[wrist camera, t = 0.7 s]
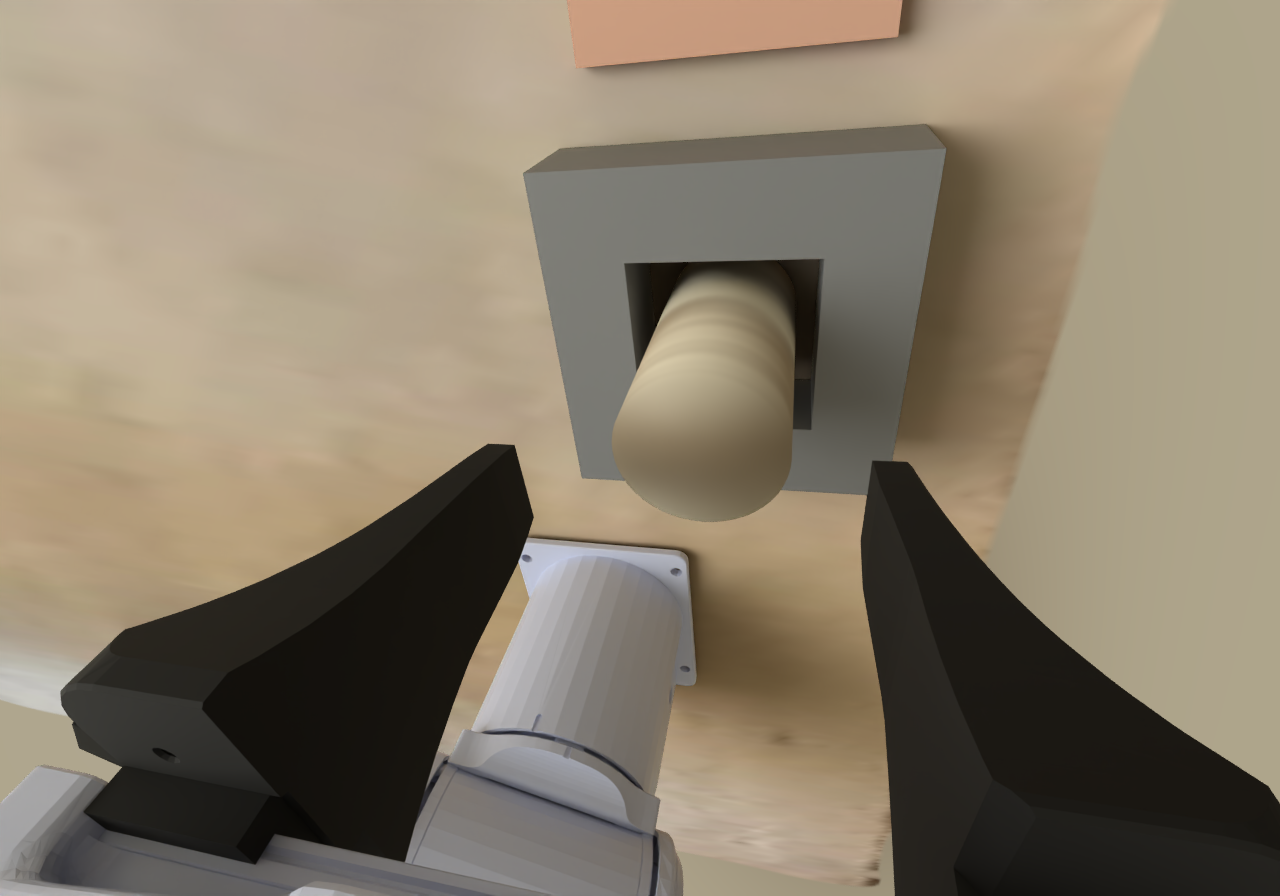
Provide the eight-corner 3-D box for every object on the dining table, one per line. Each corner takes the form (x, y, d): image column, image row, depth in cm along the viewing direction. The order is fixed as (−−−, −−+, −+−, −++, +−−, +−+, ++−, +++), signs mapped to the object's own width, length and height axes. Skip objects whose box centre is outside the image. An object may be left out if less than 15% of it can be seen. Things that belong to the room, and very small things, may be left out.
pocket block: (877, 440, 22) (885, 496, 19) (603, 429, 24) (581, 478, 22) (925, 124, 16) (946, 148, 14) (559, 149, 18) (522, 172, 16)
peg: (793, 363, 21) (787, 527, 14) (675, 361, 22) (622, 515, 15) (799, 243, 18) (796, 377, 12) (667, 247, 19) (600, 373, 13)
